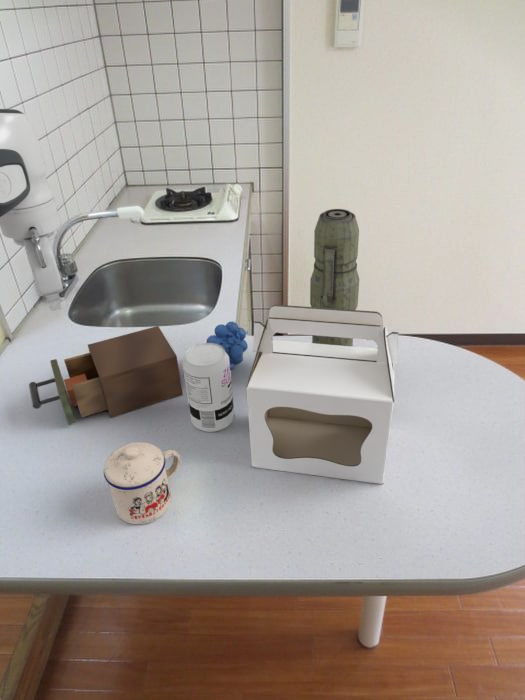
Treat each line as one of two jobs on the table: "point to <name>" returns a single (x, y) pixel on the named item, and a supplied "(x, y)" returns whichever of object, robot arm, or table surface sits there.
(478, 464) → the table surface
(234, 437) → the table surface
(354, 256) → the thermos
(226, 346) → the grapes
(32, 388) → the drawer
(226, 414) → the supplement can
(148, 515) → the teacup with lid
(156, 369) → the cabinet
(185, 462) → the table surface
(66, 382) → the block
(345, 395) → the gable box
